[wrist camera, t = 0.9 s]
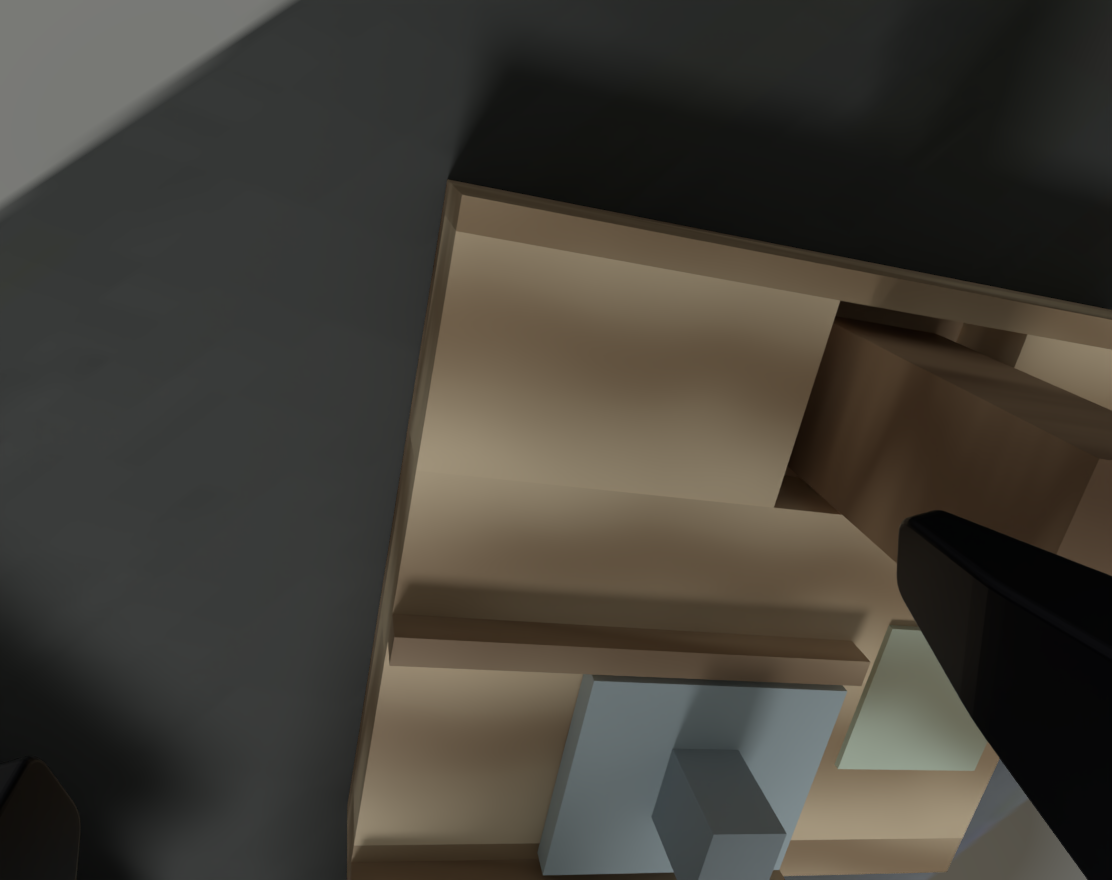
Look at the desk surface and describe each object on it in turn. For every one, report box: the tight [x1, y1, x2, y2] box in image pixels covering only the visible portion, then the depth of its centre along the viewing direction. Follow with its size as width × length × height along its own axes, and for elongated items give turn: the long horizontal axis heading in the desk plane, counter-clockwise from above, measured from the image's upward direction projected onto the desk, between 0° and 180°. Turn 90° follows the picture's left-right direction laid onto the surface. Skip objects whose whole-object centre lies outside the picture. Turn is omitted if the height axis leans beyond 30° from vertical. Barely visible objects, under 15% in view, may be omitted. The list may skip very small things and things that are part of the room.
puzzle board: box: [347, 179, 1112, 880], centre depth 25 cm, size 19×20×4 cm
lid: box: [537, 674, 847, 880], centre depth 24 cm, size 7×8×4 cm
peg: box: [787, 316, 1112, 576], centre depth 20 cm, size 4×4×10 cm
